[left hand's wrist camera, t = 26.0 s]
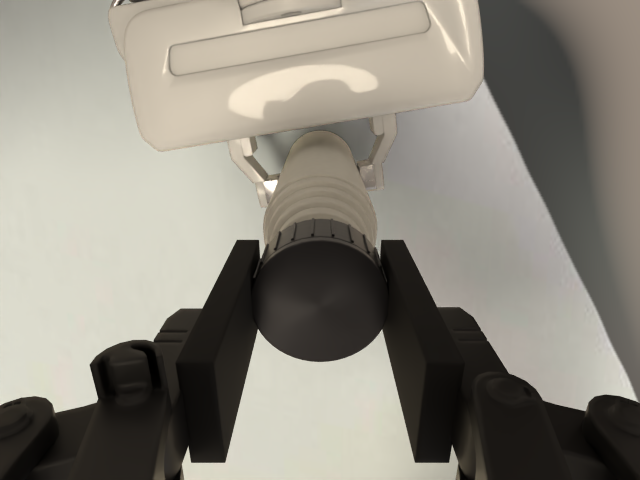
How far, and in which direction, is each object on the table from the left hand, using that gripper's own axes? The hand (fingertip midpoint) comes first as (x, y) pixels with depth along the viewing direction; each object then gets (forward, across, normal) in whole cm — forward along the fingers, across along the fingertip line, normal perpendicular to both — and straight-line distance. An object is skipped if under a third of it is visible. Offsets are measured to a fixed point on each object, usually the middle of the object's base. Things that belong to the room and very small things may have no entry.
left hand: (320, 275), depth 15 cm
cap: (-2, 0, 0) cm, 2 cm away
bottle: (+20, 0, 0) cm, 20 cm away
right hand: (+13, 0, -1) cm, 13 cm away
